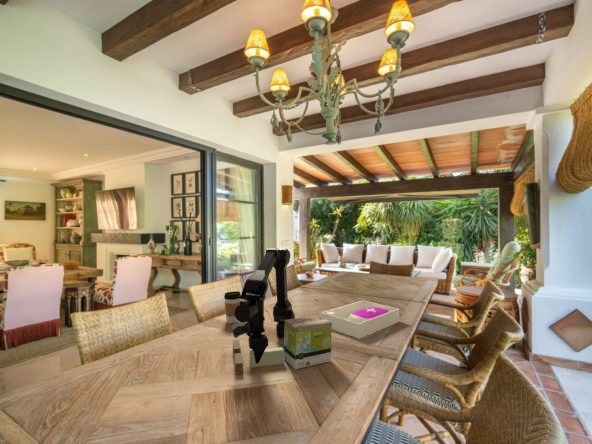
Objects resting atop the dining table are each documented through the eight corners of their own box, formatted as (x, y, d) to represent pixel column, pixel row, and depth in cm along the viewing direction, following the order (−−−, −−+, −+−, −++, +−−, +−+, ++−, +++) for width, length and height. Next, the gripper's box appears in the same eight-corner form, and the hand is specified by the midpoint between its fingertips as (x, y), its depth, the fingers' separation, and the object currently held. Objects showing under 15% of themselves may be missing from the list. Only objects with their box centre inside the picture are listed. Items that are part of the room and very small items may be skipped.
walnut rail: (239, 348, 119) (239, 340, 119) (243, 373, 100) (243, 363, 100) (232, 349, 118) (232, 340, 118) (235, 374, 99) (235, 363, 99)
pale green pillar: (282, 360, 109) (282, 347, 109) (283, 363, 107) (283, 350, 107) (249, 364, 106) (249, 350, 106) (250, 367, 104) (250, 353, 104)
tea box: (295, 371, 101) (295, 327, 101) (283, 359, 110) (283, 319, 110) (332, 361, 108) (332, 321, 108) (317, 351, 117) (317, 313, 117)
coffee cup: (236, 325, 147) (237, 294, 147) (221, 323, 148) (221, 293, 148) (243, 319, 155) (243, 290, 155) (228, 318, 156) (228, 290, 157)
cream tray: (321, 326, 146) (321, 312, 146) (362, 312, 170) (362, 299, 170) (358, 340, 129) (358, 323, 129) (399, 322, 153) (399, 308, 153)
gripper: (231, 307, 113) (231, 348, 113) (234, 323, 95) (233, 372, 95) (260, 305, 116) (260, 345, 115) (268, 321, 97) (268, 368, 97)
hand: (255, 357), depth 106 cm, fingers open, 9 cm apart
